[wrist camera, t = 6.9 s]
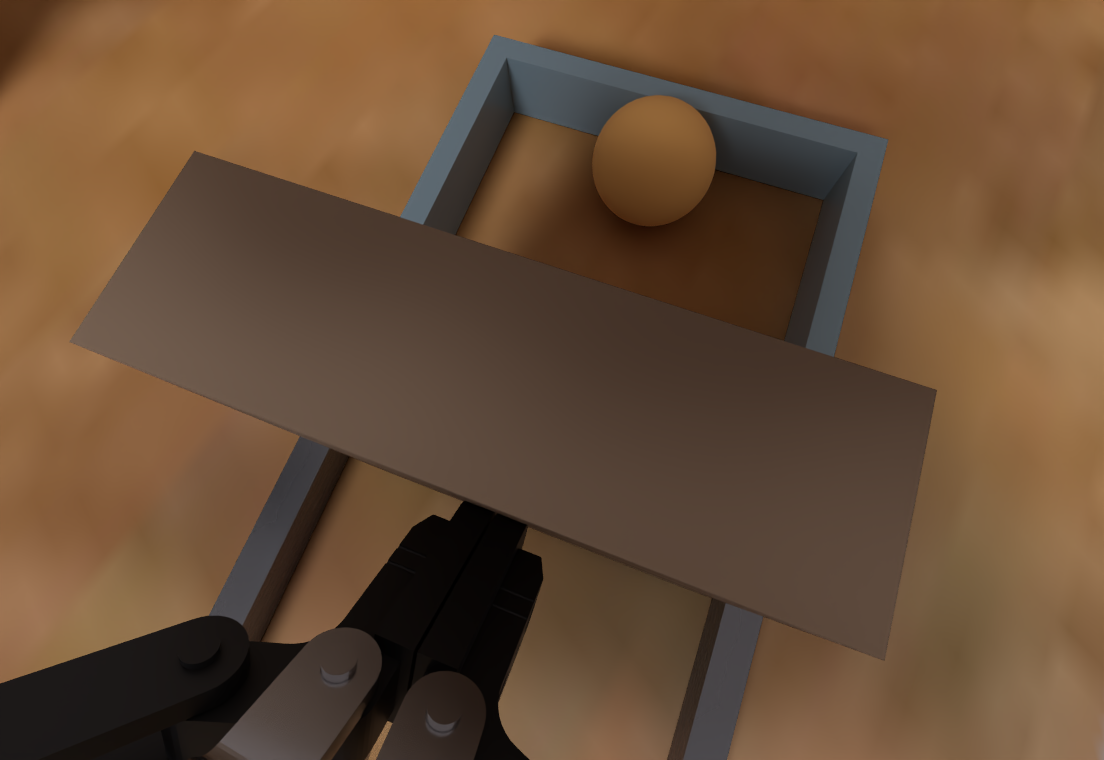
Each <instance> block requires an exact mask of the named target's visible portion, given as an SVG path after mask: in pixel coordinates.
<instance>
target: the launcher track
mask: <svg viewBox="0 0 1104 760" xmlns="http://www.w3.org/2000/svg"><path fill="white" fill-rule="evenodd" d="M348 457H349V456H348V455H345V454H343V453H340V452H338V451H335V450H333V449H330V448H328V447H326V446H323V445H321V444H318V443H316V442H313V441H311V440H308V439H306V438H304V437H301V436H300V437H299V439H298V441H297V443H296V445H295V447H294V449H293V451H292V453H291V455H290V457H289V459H288V461H287V463H286V465H285V467H284V469H283V471H282V473H281V475H280V477H279V479H278V481H277V483H276V485H275V487H274V489H273V491H272V493H271V495H270V496H269V498H268V500H267V502H266V504H265V506H264V508H263V510H262V512H261V514H260V516H259V518H258V520H257V522H256V524H255V526H254V528H253V530H252V532H251V534H250V536H249V538H248V540H247V542H246V544H245V546H244V548H243V550H242V552H241V554H240V555H239V557H238V559H237V561H236V563H235V565H234V567H233V569H232V571H231V573H230V575H229V577H228V579H227V581H226V583H225V585H224V587H223V589H222V591H221V593H220V595H219V597H218V599H217V601H216V603H215V605H214V607H213V609H212V611H211V612H210V614H209V616H225V617H229V618H232V619H234V620H236V621H238V622H239V623H240V624H241V625H243V627H244V628H245V630H246V631H247V634H248V638H249V641H256V642H260V641H261V639H262V637H263V635H264V633H265V631H266V628H267V626H268V624H269V622H270V620H271V618H272V616H273V614H274V612H275V610H276V608H277V605H278V603H279V601H280V599H281V597H282V595H283V593H284V591H285V589H286V587H287V585H288V583H289V580H290V578H291V576H292V574H293V572H294V570H295V568H296V566H297V564H298V562H299V560H300V557H301V555H302V553H303V551H304V549H305V547H306V545H307V543H308V541H309V539H310V537H311V535H312V532H313V530H314V528H315V526H316V524H317V522H318V520H319V518H320V516H321V514H322V512H323V509H324V507H325V505H326V503H327V501H328V499H329V497H330V495H331V493H332V491H333V489H334V487H335V484H336V482H337V480H338V478H339V476H340V474H341V472H342V470H343V468H344V466H345V464H346V462H347V459H348ZM762 619H763V616H760V615H757V614H755V613H752V612H749V611H746V610H744V609H741V608H738V607H735V606H733V605H730V604H727V603H724V602H722V601H719V600H716V599H713V598H712V601H711V605H710V609H709V612H708V616H707V619H706V623H705V626H704V630H703V634H702V637H701V641H700V644H699V648H698V652H697V655H696V659H695V662H694V666H693V669H692V673H691V677H690V680H689V684H688V687H687V691H686V695H685V698H684V702H683V705H682V709H681V712H680V716H679V720H678V723H677V727H676V730H675V734H674V738H673V741H672V745H671V748H670V752H669V755H668V759H667V760H727V757H728V753H729V749H730V745H731V741H732V737H733V733H734V729H735V725H736V721H737V718H738V714H739V710H740V706H741V702H742V698H743V694H744V690H745V686H746V682H747V678H748V674H749V670H750V666H751V662H752V658H753V654H754V650H755V646H756V643H757V639H758V635H759V631H760V627H761V623H762Z"/></svg>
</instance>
